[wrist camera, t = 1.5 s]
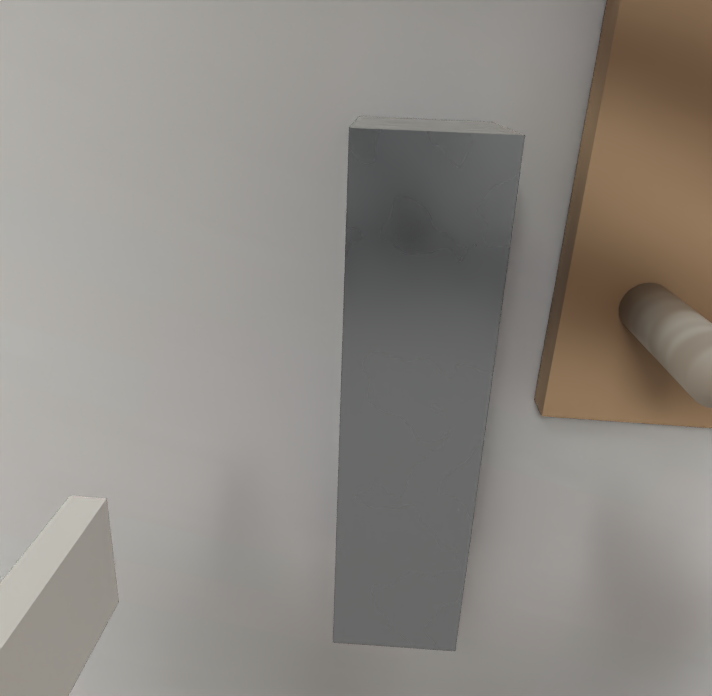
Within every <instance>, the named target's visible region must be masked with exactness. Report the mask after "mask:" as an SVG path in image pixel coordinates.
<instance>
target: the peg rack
mask: <svg viewBox="0 0 712 696" xmlns="http://www.w3.org/2000/svg"><path fill="white" fill-rule="evenodd" d="M534 400H535V402H536V404H537V406H538V409H539V411H540V413H541V415H542V416H547V417H561V418H575V419H589V420H604V421H618V422H632V423H646V424H661V425H675V426H689V427H703V428H712V0H607V3H606V9H605V14H604V20H603V25H602V31H601V36H600V42H599V47H598V53H597V58H596V64H595V69H594V75H593V80H592V86H591V91H590V97H589V102H588V108H587V113H586V119H585V124H584V130H583V135H582V141H581V146H580V152H579V157H578V163H577V168H576V174H575V179H574V185H573V190H572V196H571V201H570V207H569V212H568V218H567V223H566V229H565V234H564V240H563V245H562V251H561V256H560V262H559V267H558V273H557V278H556V284H555V289H554V295H553V300H552V306H551V311H550V317H549V322H548V328H547V333H546V339H545V344H544V350H543V355H542V361H541V366H540V372H539V377H538V383H537V388H536V394H535V399H534Z"/></svg>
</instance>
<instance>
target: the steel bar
mask: <svg viewBox="0 0 712 696" xmlns="http://www.w3.org/2000/svg"><path fill="white" fill-rule="evenodd" d="M524 139H525V135H523V134H521V133H518V132H516V131H514V130H511V129H509V128H506V127H504V126H502V125H499V124H497V123H495V122H485V121H462V120H438V119H415V118H391V117H368V116H359V117H358V118H357V119H356V121H355V122H354V123H353V124H352V125H351V126H350V127H349V150H348V182H347V213H346V245H345V277H344V309H343V341H342V372H341V404H340V436H339V468H338V499H337V531H336V563H335V595H334V627H333V642H334V643H348V644H362V645H376V646H390V647H404V648H419V649H433V650H447V651H455V650H456V642H457V635H458V627H459V620H460V613H461V605H462V598H463V590H464V583H465V576H466V568H467V561H468V553H469V546H470V539H471V531H472V524H473V516H474V509H475V502H476V494H477V487H478V479H479V472H480V465H481V457H482V450H483V442H484V435H485V428H486V420H487V413H488V405H489V398H490V391H491V383H492V376H493V368H494V361H495V354H496V346H497V339H498V331H499V324H500V317H501V309H502V302H503V294H504V287H505V280H506V272H507V265H508V257H509V250H510V243H511V235H512V228H513V220H514V213H515V206H516V198H517V191H518V183H519V176H520V169H521V161H522V154H523V146H524Z"/></svg>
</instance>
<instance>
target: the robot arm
mask: <svg viewBox="0 0 712 696" xmlns="http://www.w3.org/2000/svg"><path fill="white" fill-rule="evenodd" d="M118 602H119V599H118V590H117V581H116V573H115V564H114V556H113V547H112V539H111V530H110V521H109V513H108V504H107V498H97V497H84V496H71V495H70V496H69V498H68V499H67V500H66V501H65V503H64V504H63V505H62V506H61V508H60V509H59V510H58V511H57V513H56V514H55V515H54V516H53V518H52V519H51V520H50V521H49V523H48V524H47V525H46V526H45V528H44V529H43V530H42V531H41V533H40V534H39V535H38V536H37V538H36V539H35V540H34V541H33V543H32V544H31V545H30V546H29V548H28V549H27V550H26V551H25V553H24V554H23V555H22V556H21V558H20V559H19V560H18V561H17V563H16V564H15V565H14V566H13V568H12V569H11V570H10V571H9V573H8V574H7V575H6V576H5V578H4V579H3V580H2V582H1V583H0V696H69V694H70V692H71V690H72V688H73V686H74V684H75V683H76V681H77V679H78V677H79V675H80V673H81V671H82V670H83V668H84V666H85V664H86V662H87V660H88V658H89V657H90V655H91V653H92V651H93V649H94V647H95V645H96V643H97V642H98V640H99V638H100V636H101V634H102V632H103V630H104V629H105V627H106V625H107V623H108V621H109V619H110V617H111V616H112V614H113V612H114V610H115V608H116V606H117V604H118Z"/></svg>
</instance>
